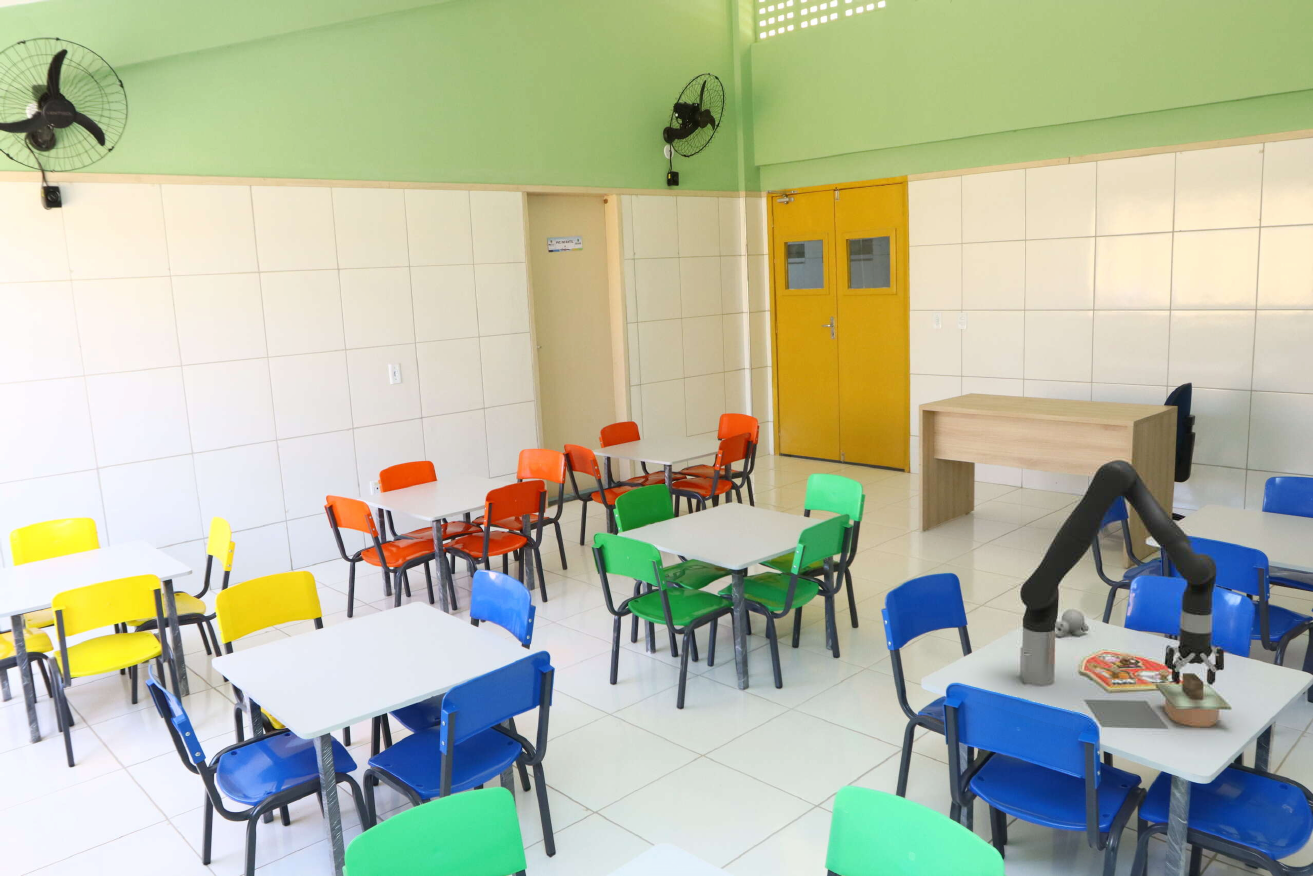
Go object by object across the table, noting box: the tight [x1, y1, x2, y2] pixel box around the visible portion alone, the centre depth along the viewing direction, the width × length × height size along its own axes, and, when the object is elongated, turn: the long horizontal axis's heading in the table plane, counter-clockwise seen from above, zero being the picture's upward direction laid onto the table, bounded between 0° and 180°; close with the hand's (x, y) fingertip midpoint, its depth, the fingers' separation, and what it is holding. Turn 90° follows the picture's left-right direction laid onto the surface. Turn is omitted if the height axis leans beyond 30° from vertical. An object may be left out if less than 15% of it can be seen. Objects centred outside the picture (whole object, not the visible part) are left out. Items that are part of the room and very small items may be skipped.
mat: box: [1083, 699, 1169, 730], centre depth 262 cm, size 17×17×1 cm
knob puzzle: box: [1078, 649, 1183, 694], centre depth 290 cm, size 29×30×4 cm
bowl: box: [1164, 698, 1220, 728], centre depth 258 cm, size 12×12×6 cm
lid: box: [1156, 672, 1232, 711], centre depth 257 cm, size 14×14×6 cm
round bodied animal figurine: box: [1055, 608, 1090, 638], centre depth 320 cm, size 7×12×8 cm, turn 106°
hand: (1193, 683), depth 257 cm, fingers open, 8 cm apart
